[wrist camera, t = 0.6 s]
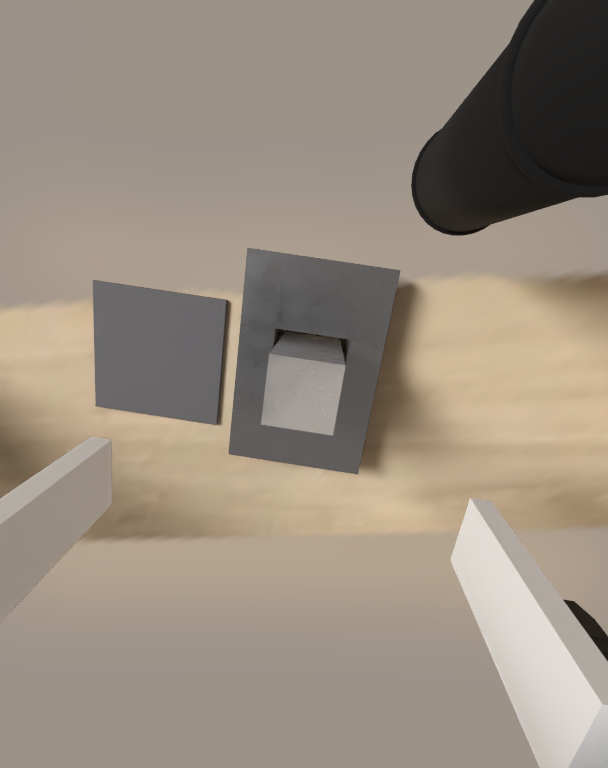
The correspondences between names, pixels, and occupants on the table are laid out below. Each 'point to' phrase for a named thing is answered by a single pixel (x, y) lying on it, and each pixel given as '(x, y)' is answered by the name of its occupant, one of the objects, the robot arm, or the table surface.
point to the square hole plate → (320, 317)
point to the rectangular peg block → (304, 383)
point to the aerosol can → (524, 125)
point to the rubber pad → (158, 351)
